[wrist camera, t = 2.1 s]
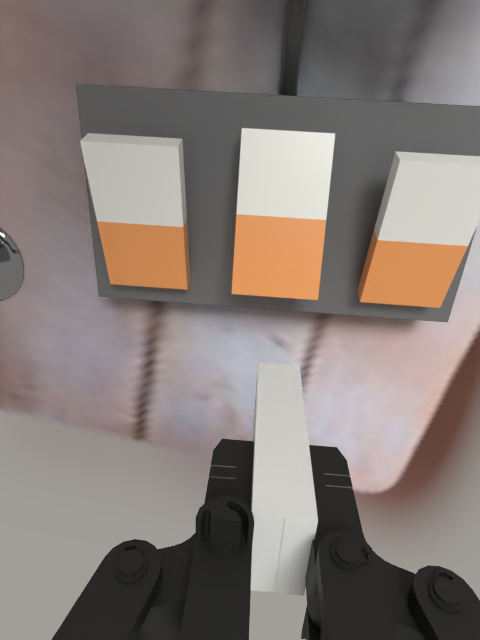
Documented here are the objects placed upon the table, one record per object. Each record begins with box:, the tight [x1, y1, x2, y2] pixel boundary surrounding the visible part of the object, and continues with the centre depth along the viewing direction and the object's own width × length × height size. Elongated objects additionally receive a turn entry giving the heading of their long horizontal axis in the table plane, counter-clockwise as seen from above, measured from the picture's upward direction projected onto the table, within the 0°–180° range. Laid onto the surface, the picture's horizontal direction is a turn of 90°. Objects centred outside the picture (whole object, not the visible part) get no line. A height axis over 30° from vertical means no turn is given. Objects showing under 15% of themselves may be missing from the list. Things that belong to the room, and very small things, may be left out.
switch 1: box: [80, 133, 190, 290], centre depth 25 cm, size 9×5×2 cm, turn 177°
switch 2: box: [357, 151, 480, 308], centre depth 24 cm, size 9×5×2 cm, turn 177°
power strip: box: [76, 0, 480, 322], centre depth 26 cm, size 22×24×4 cm
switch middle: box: [232, 128, 335, 300], centre depth 25 cm, size 9×5×2 cm, turn 177°
